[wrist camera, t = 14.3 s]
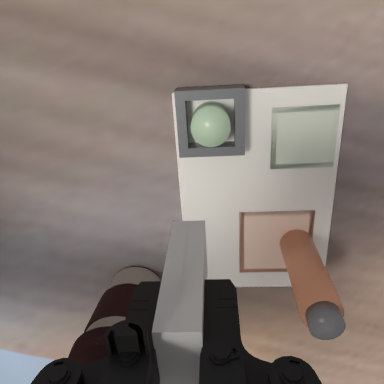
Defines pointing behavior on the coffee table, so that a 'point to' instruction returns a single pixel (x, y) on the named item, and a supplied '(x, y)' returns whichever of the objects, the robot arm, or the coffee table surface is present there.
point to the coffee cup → (109, 314)
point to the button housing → (210, 94)
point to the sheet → (266, 181)
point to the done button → (210, 124)
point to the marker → (312, 286)
